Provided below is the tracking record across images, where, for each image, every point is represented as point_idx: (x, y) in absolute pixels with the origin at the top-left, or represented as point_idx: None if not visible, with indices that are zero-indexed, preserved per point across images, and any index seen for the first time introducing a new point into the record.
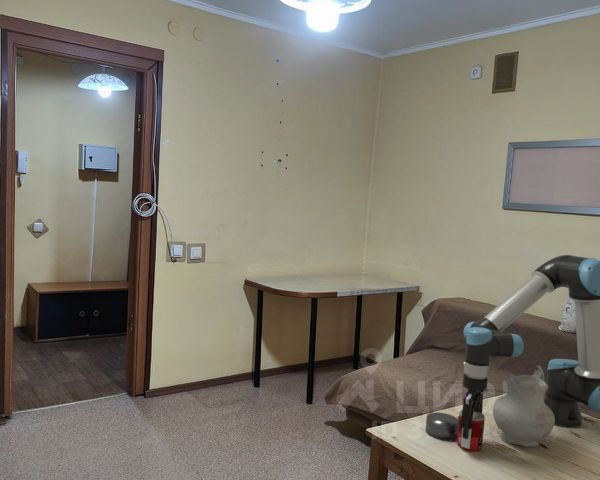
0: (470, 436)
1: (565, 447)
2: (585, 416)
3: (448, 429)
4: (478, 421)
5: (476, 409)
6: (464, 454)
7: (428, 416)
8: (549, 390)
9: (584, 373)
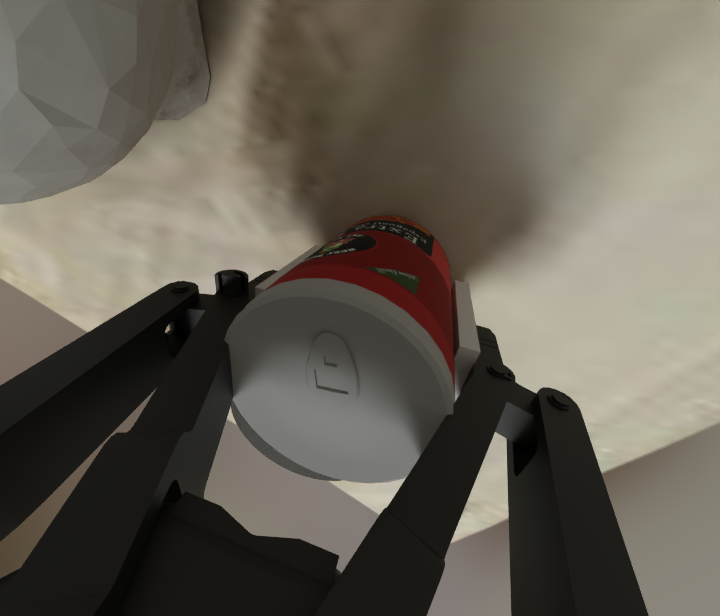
0: (467, 316)
1: None
2: None
3: None
4: (435, 338)
5: (224, 382)
6: (500, 294)
7: (316, 474)
8: None
9: None
